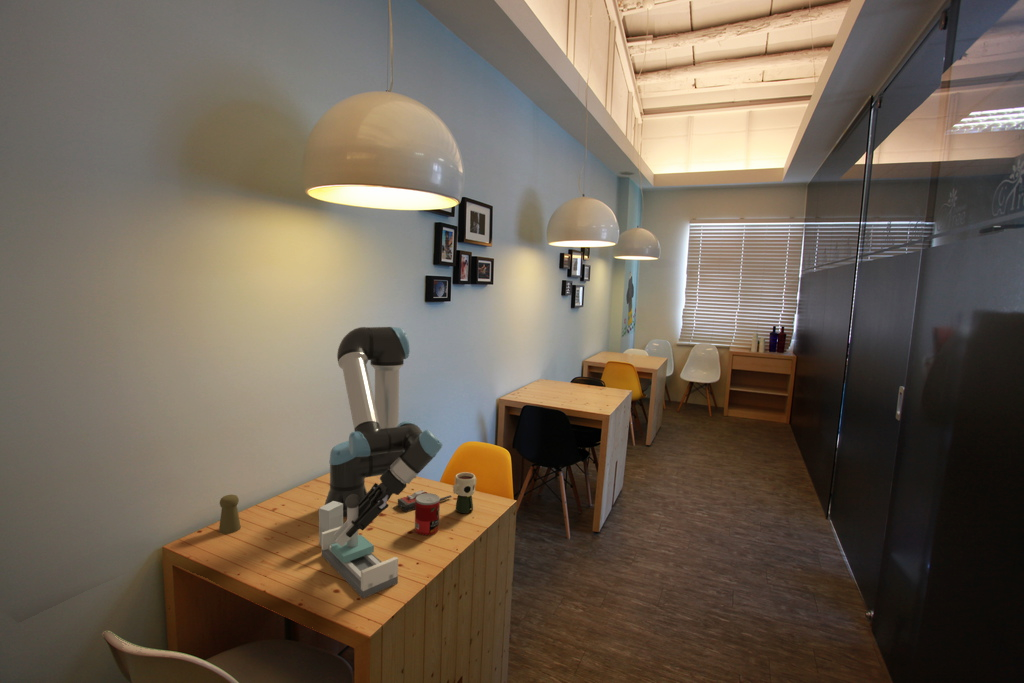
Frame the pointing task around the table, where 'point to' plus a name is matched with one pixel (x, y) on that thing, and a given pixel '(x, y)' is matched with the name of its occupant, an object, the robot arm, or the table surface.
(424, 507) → the canned food
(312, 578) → the table surface
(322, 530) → the skincare box
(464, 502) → the character mug
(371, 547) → the carriage
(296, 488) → the table surface
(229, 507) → the olive pawn figure
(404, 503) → the walkie-talkie
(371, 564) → the rail track
